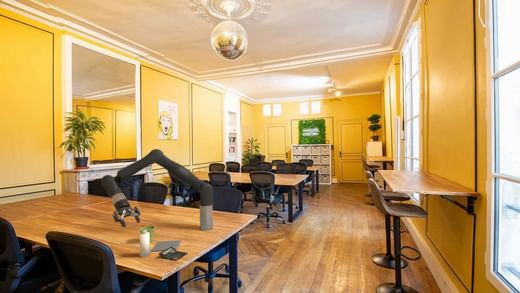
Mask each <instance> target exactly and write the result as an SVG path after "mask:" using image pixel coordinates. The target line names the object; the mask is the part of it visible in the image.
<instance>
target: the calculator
mask: <svg viewBox="0 0 520 293" xmlns="http://www.w3.org/2000/svg"><path fill="white" fill-rule="evenodd" d="M158 255H159V256H160V257H161V258H162V259H164V260H167V259H169V260H168V261H173V260H174V261H173V262H177V261H179V260H180V259H181V258H184V257H185V256H186V255H188V252H185V251H178V250H177V249H176V250H175V249H174V248H173V247H172V246H171V247H170V248H168V249H166V250H164V251H159V253H158Z"/></svg>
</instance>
